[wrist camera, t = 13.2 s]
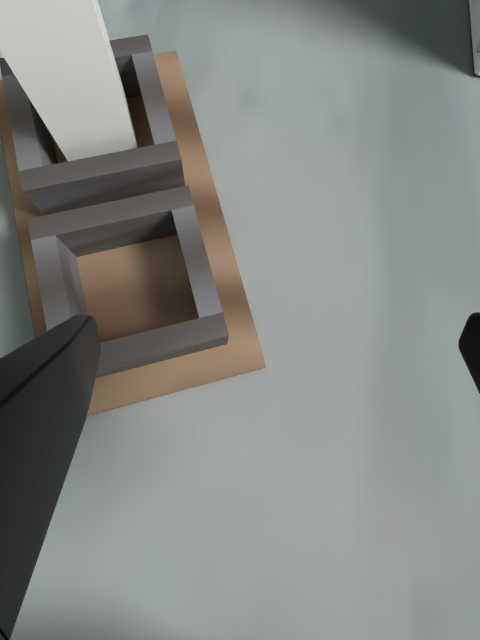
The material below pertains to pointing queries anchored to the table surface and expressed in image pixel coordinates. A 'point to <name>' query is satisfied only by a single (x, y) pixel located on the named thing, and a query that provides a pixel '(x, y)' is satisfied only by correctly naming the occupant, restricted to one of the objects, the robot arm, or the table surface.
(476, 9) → the string lights box
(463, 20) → the table surface
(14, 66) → the plug
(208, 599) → the table surface
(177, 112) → the dock
